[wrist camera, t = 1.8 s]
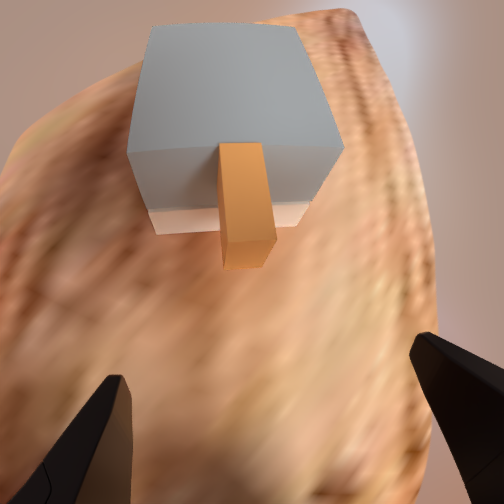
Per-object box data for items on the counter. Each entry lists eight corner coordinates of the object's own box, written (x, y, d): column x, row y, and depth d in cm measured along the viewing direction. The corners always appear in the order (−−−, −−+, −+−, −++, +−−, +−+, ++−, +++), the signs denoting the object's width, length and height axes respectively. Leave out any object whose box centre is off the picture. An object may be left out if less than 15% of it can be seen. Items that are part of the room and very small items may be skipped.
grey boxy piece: (326, 271, 19) (372, 233, 13) (146, 285, 17) (117, 249, 11) (280, 79, 25) (294, 25, 19) (157, 81, 23) (152, 24, 17)
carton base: (295, 226, 25) (310, 202, 21) (156, 234, 23) (147, 211, 19) (272, 110, 29) (279, 81, 25) (162, 113, 27) (158, 83, 23)
